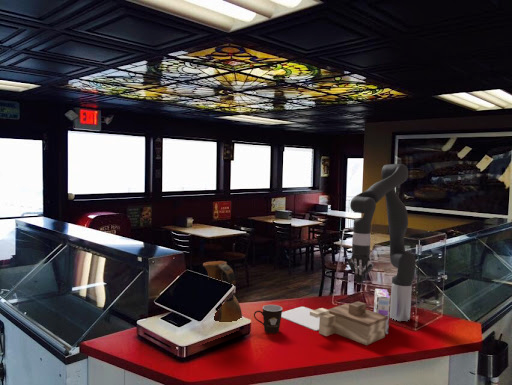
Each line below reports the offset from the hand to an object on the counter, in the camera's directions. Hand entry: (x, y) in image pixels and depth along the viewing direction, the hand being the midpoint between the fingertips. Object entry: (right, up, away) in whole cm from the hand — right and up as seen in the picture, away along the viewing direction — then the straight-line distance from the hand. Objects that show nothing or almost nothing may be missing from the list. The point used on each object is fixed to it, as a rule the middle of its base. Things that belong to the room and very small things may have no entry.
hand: (359, 282), depth 187 cm
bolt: (-18, -13, -4) cm, 22 cm away
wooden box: (-3, -23, 0) cm, 23 cm away
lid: (-1, -15, +1) cm, 15 cm away
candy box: (+12, -23, +10) cm, 28 cm away
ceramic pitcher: (-61, -20, -2) cm, 64 cm away
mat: (-20, -21, +18) cm, 34 cm away
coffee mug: (-39, -21, +1) cm, 45 cm away
